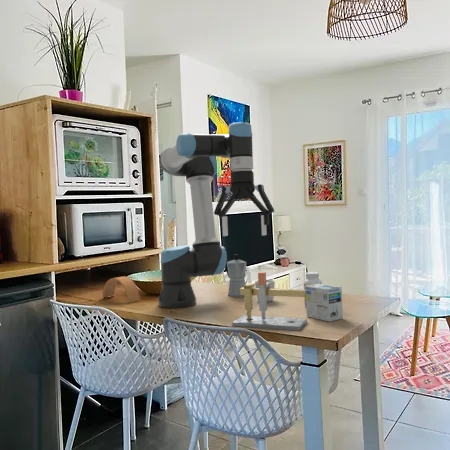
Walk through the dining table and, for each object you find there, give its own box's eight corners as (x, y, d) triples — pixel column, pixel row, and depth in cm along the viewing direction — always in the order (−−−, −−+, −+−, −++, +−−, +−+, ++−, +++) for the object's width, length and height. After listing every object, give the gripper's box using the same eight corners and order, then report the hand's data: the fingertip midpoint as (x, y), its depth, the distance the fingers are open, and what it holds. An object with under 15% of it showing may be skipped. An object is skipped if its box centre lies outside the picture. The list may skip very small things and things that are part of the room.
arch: (128, 303, 192) (127, 279, 192) (102, 298, 206) (101, 276, 205) (140, 301, 196) (139, 278, 196) (113, 296, 210) (112, 274, 210)
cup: (273, 304, 178) (273, 283, 178) (253, 304, 180) (252, 284, 179) (276, 298, 189) (275, 279, 188) (257, 298, 190) (256, 279, 190)
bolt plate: (232, 326, 148) (232, 322, 148) (243, 318, 157) (243, 315, 157) (299, 330, 139) (299, 326, 139) (307, 322, 148) (306, 318, 148)
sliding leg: (259, 319, 148) (257, 272, 148) (265, 315, 153) (263, 270, 153) (265, 320, 147) (263, 273, 147) (271, 316, 153) (269, 270, 152)
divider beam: (238, 319, 151) (236, 285, 151) (243, 315, 156) (242, 282, 155) (303, 323, 142) (302, 287, 142) (307, 319, 147) (306, 284, 146)
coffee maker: (254, 295, 197) (253, 254, 197) (238, 298, 192) (236, 255, 192) (234, 291, 210) (232, 252, 209) (218, 294, 205) (216, 253, 204)
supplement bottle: (326, 306, 170) (325, 272, 170) (316, 309, 166) (315, 274, 165) (311, 304, 175) (310, 271, 175) (301, 307, 170) (299, 273, 170)
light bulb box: (343, 318, 151) (342, 286, 151) (329, 322, 147) (328, 289, 147) (319, 313, 160) (318, 282, 160) (305, 316, 156) (304, 285, 156)
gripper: (202, 172, 151) (205, 237, 152) (275, 167, 142) (277, 235, 142) (211, 174, 158) (214, 235, 159) (281, 168, 148) (284, 234, 149)
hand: (244, 235), depth 151 cm, fingers open, 13 cm apart
